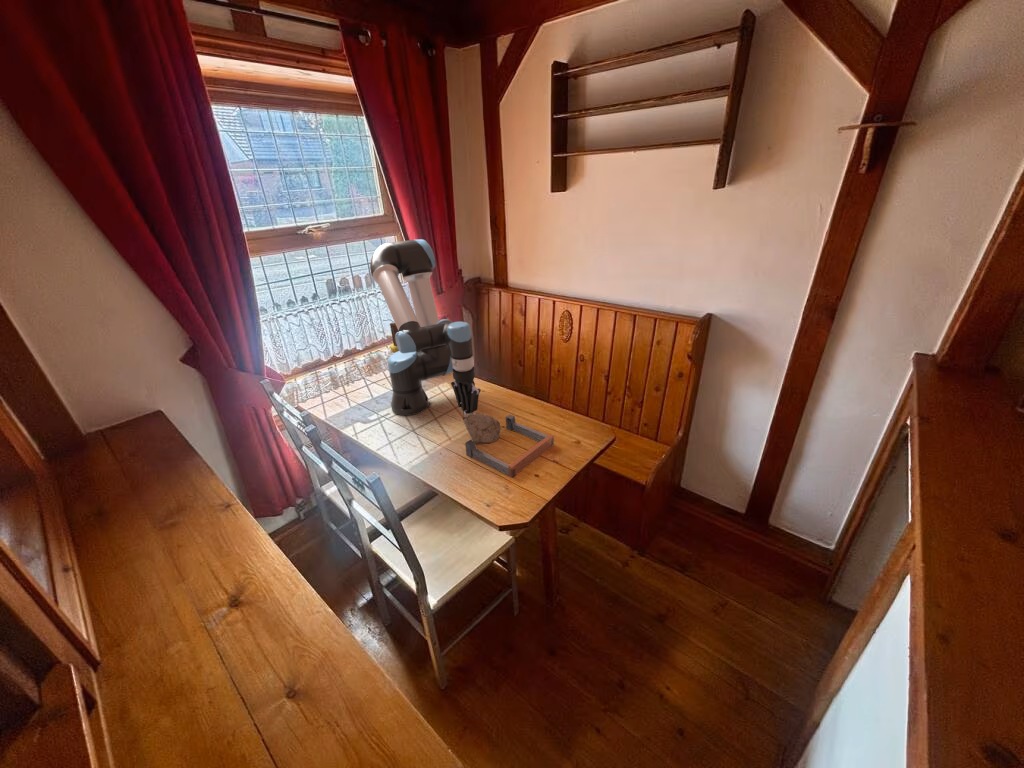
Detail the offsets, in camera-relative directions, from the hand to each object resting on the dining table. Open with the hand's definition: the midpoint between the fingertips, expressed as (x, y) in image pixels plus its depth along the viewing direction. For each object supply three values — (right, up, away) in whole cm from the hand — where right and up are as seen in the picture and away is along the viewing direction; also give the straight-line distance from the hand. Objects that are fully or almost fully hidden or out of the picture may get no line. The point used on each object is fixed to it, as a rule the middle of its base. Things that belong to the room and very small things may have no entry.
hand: (469, 425), depth 156 cm
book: (-30, +21, +50) cm, 62 cm away
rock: (+5, -4, -3) cm, 7 cm away
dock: (+15, -7, -11) cm, 20 cm away
